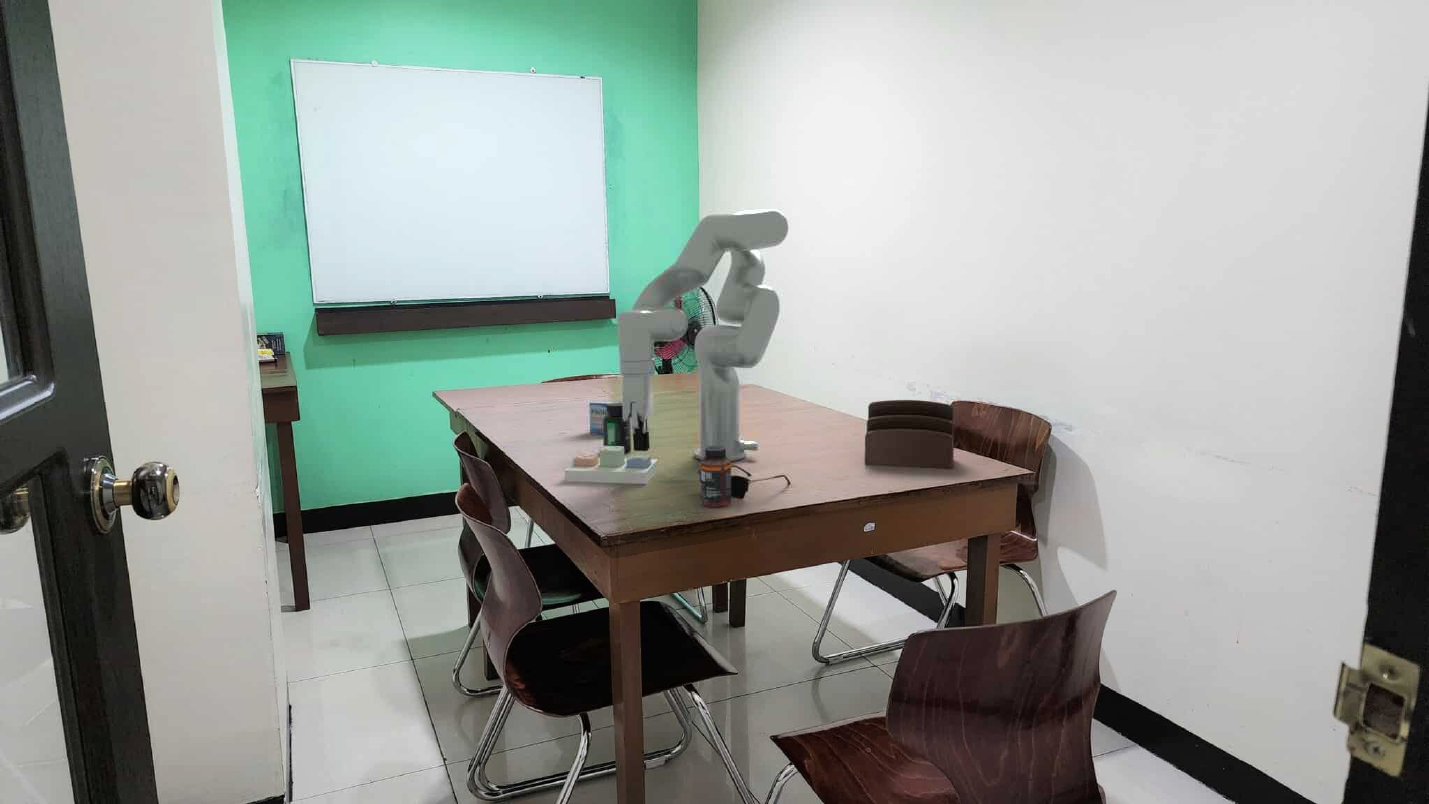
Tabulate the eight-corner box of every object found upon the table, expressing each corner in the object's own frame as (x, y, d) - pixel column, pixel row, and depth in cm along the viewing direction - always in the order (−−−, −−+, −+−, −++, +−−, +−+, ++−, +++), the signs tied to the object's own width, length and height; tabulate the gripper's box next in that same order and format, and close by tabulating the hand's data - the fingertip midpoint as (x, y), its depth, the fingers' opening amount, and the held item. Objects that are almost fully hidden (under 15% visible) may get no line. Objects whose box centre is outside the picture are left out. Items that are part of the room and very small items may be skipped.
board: (658, 470, 196) (658, 459, 195) (646, 484, 184) (646, 472, 184) (581, 467, 198) (581, 457, 198) (564, 481, 187) (564, 470, 186)
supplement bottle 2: (730, 499, 172) (730, 444, 170) (732, 508, 166) (732, 450, 164) (700, 500, 172) (700, 444, 170) (701, 508, 166) (700, 451, 164)
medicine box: (589, 434, 236) (588, 402, 235) (596, 430, 240) (595, 400, 239) (616, 435, 234) (615, 404, 232) (622, 432, 238) (621, 401, 237)
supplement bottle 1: (613, 456, 210) (612, 407, 208) (598, 451, 215) (596, 404, 213) (636, 452, 214) (635, 404, 212) (621, 447, 219) (620, 400, 217)
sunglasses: (696, 491, 180) (697, 467, 179) (745, 480, 192) (746, 458, 191) (748, 503, 171) (749, 478, 170) (796, 491, 183) (797, 467, 182)
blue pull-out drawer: (651, 473, 192) (650, 455, 191) (646, 478, 188) (646, 459, 187) (631, 472, 193) (631, 454, 192) (626, 477, 188) (626, 459, 188)
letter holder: (867, 455, 209) (868, 398, 207) (952, 459, 204) (954, 400, 202) (864, 465, 200) (865, 405, 197) (953, 469, 195) (955, 408, 192)
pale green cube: (624, 463, 193) (624, 445, 192) (619, 468, 188) (619, 449, 188) (605, 463, 193) (604, 445, 193) (599, 468, 189) (599, 449, 188)
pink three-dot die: (598, 471, 194) (598, 453, 193) (593, 476, 190) (592, 458, 189) (579, 471, 194) (579, 453, 194) (573, 476, 190) (573, 457, 190)
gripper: (628, 362, 194) (633, 441, 198) (611, 373, 180) (616, 458, 183) (661, 362, 193) (665, 441, 197) (646, 373, 179) (651, 459, 182)
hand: (641, 449), depth 190 cm, fingers closed
